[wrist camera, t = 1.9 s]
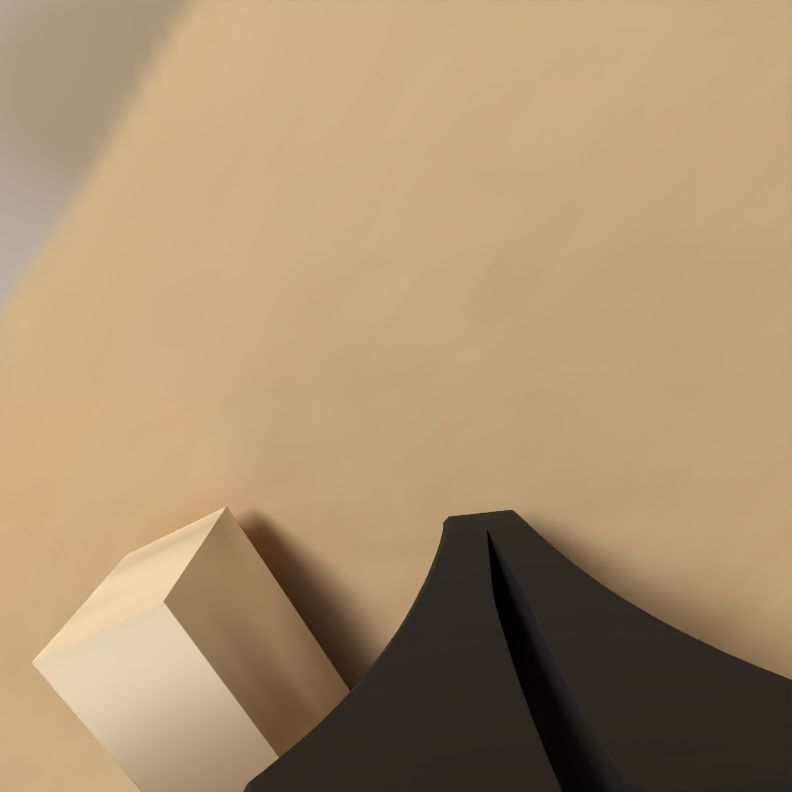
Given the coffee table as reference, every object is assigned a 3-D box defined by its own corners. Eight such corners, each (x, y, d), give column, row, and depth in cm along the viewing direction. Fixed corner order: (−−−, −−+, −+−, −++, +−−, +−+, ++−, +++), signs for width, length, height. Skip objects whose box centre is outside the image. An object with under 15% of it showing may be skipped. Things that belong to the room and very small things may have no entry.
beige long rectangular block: (433, 811, 13) (441, 999, 10) (340, 845, 14) (319, 1037, 10) (228, 505, 11) (154, 618, 8) (124, 555, 11) (11, 684, 8)
